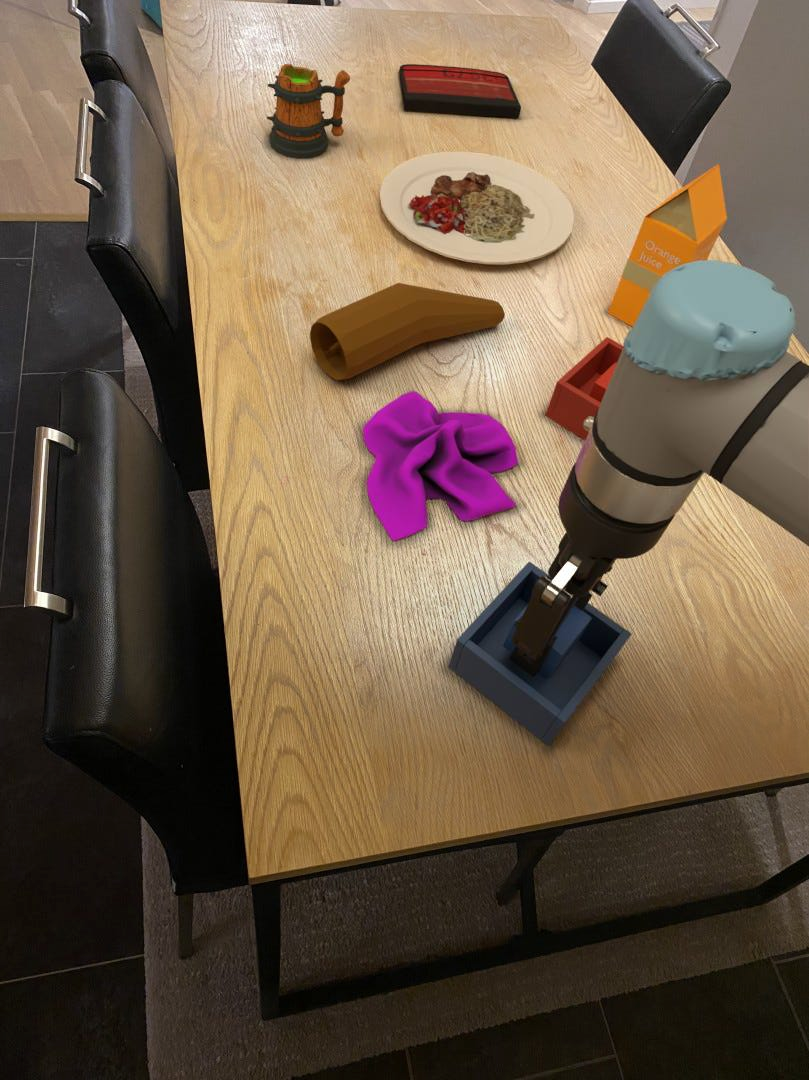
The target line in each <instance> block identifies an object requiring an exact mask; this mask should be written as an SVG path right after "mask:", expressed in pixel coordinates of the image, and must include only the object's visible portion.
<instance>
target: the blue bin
mask: <svg viewBox="0 0 809 1080" xmlns="http://www.w3.org/2000/svg"><path fill="white" fill-rule="evenodd" d="M542 576H544V577H545V576H548V577H550V576H549V574H548V572H545V571H544V570H543V569H541V568H539V566H536V565H535V564H534V563H532V562H531V561H528V562H526V564H525V565H524V566H523V567H522V568H521V570H520V571H519V572H518V573H517V574H516V575H515V576H514V577H513V578H512V579H511V581H510V582H508V584H507V585H506V586H504V588H503V589H502V590H501V591H500V592H499V593H498V594H497V596H496V597H494V599H493V600H492V601H491V602H490V603H489V604H488V606H487V607H485V609H483V610H482V612H481V613H480V614H479V615H478V616H477V617H476V619H474V620H473V621H472V623H471V624H470V625H469V626H468V627H467V628H466V629H465V630H464V631H463V632H462V633H461V634H460V636H459V637H458V638H457V639H456V642H455V645H454V648H453V650H452V654H451V657H450V660H449V663H448V666H447V667H448V668H449V669H450V670H451V671H452V672H453V673H455V674H456V675H457V676H458V677H460V678H461V679H463V680H464V681H465V682H466V683H467V684H468V685H470V686H471V687H473V688H474V689H475V690H476V691H477V692H479V693H480V694H481V695H482V696H484V697H485V698H487V699H488V700H489V701H490V702H492V703H493V704H494V705H495V706H496V707H498V708H499V709H500V710H502V712H504V713H505V714H507V715H508V716H509V717H511V718H512V719H513V720H514V721H516V723H518V724H519V725H521V726H522V727H523V728H524V729H526V731H528V732H529V733H530V734H532V735H533V736H534V737H536V738H537V739H538V740H540V741H541V742H542V743H543V744H544V745H546V746H547V747H549V746H550V745H551V744H552V743H553V741H554V740H555V738H556V737H557V736H558V734H559V733H560V732H561V731H562V729H563V728H564V726H565V725H566V724H567V723H568V721H569V720H570V719H571V717H572V716H573V714H574V713H575V712H576V710H577V709H578V708H579V706H581V704H582V702H583V701H584V700H585V698H586V697H587V696H588V694H589V693H590V692H591V690H592V689H593V688H594V687H595V685H596V684H597V682H599V680H600V678H601V677H602V676H603V674H604V673H605V672H606V670H607V669H608V668H609V666H610V665H611V664H612V662H613V661H614V660H615V658H616V657H617V656H618V654H619V653H620V652H621V650H622V649H623V647H624V646H625V644H626V643H627V642H628V640H629V639H630V638H631V636H632V634H633V633H632V632H630V631H629V630H628V629H626V628H625V627H623V626H622V625H621V624H620V623H618V622H616V621H614V620H613V619H612V618H610V617H609V616H608V615H606V614H605V613H604V612H602V611H600V610H599V609H598V608H596V607H595V606H593V605H592V604H591V603H590V602H588V603H587V605H586V607H585V609H584V610H583V612H585V613H586V614H587V615H589V616H590V617H591V618H592V619H591V621H590V622H589V624H588V625H587V627H586V629H585V630H584V632H583V633H582V635H581V637H580V638H579V640H578V641H577V643H576V644H575V646H574V647H573V648H572V649H571V651H570V652H569V653H568V654H567V656H566V657H565V658H564V659H563V661H562V662H561V663H560V664H559V666H558V667H557V668H556V669H555V671H554V672H553V673H552V674H551V676H550V677H549V678H548V679H545V678H544V677H542V676H541V675H540V674H539V673H537V674H536V675H535V676H534V677H532V676H531V675H530V674H528V673H527V672H526V671H525V670H523V669H522V668H521V667H519V666H518V665H517V664H515V663H514V662H513V661H511V660H510V659H509V658H510V656H511V654H512V653H511V652H510V651H508V650H507V649H506V648H505V647H503V644H504V642H505V640H506V638H507V635H508V633H509V631H510V629H511V627H512V625H513V623H514V620H515V619H516V618H517V617H518V615H519V614H520V613H521V612H522V611H523V610H524V609H525V608H526V606H527V605H528V603H529V601H530V599H531V597H532V592H533V588H534V586H535V582H536V581H537V579H539V578H540V577H542Z"/></svg>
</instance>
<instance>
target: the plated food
mask: <svg viewBox="0 0 809 1080" xmlns="http://www.w3.org/2000/svg"><path fill="white" fill-rule="evenodd" d="M380 185H381V186H380V192H379V201H380V206H381V210H382V211H383V214H384V215H385V217H386V219H387V221H388V222H389V223H390V224H391V225H392V226H393V227H394V228H395V230H397V231H398V232H399V233H400V234H401V235H403V236H404V237H405V238H407V239H408V240H409V241H411V242H412V243H414V244H416V245H418V246H420V247H422V248H424V249H425V250H428V251H431V252H432V253H433V252H434V253H436V254H438V255H441V256H443V257H446V258H450V259H454V260H458V261H462V262H466V263H473V264H475V263H476V264H481V265H482V264H483V265H511V264H512V265H513V264H514V265H515V264H521V263H526V262H531V261H534V260H538V259H542V258H544V257H546V256H547V255H550V254H552V253H554V252H555V251H557V250H559V248H561V247H562V246H563V245H565V243H566V242H567V240H568V239H569V238H570V236H571V235H572V232H573V229H574V224H575V213H574V212H575V211H574V209H573V205H572V204H571V201H570V199H569V198H568V197H567V195H566V194H565V193H564V191H562V189H561V188H560V187H559V186H558V185H557V184H555V183H554V182H553V181H552V180H551V179H549V178H548V177H546V176H545V175H544V174H542V173H540V172H538V171H537V170H535V169H533V168H530V167H528V166H526V165H525V164H522V163H519V162H516V161H515V160H511V159H508V158H505V157H502V156H497V155H493V154H488V153H482V152H474V151H459V150H458V151H456V150H452V151H437V152H431V153H426V154H422V155H418V156H415V157H412V158H410V159H407V160H405V161H403V162H401V163H400V164H398V165H396V166H394V167H393V168H392V169H391V171H390V172H389V173H388V174H386V176H385V177H384V179H383V181H382V183H381V184H380Z"/></svg>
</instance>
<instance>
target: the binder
mask: <svg viewBox="0 0 809 1080" xmlns="http://www.w3.org/2000/svg"><path fill="white" fill-rule="evenodd" d="M398 75H399V77H398V78H399V82H400V90H401V91H400V92H401V98H402V99H401V100H402V107H403V111H407V112H409V111H410V112H418V113H419V112H420V113H433V114H445V115H446V114H447V115H463V116H465V115H466V116H477V117H478V116H479V117H492V118H493V117H494V118H506V119H508V118H509V119H519V118H520V116H521V115H520V114H521V112H522V111H521V110H522V105H521V104H520V101H519V99H518V97H517V94H516V93H515V91H514V88H513V85H512V83H511V80H510V79H509V77H508V75H507V74H505V73H503V72H499V71H494V70H493V71H492V70H487V69H481V68H480V69H479V68H471V67H460V66H449V65H448V66H447V65H446V66H445V65H434V64H418V63H417V64H415V63H407V64H402V65H400V66H399V69H398Z"/></svg>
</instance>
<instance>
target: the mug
mask: <svg viewBox="0 0 809 1080" xmlns="http://www.w3.org/2000/svg"><path fill="white" fill-rule="evenodd" d="M279 70H280V71H279V72H278V75H275V76H274V77H275V78H276V80H275V82H274V83H267V87H268V88H271V89H272V90H274V93H273V96H274V97H276V102H275V107H274V110H275V112H274V113H273V114H272V116H267V117H266V120H268V121H271V122H272V124H273V125H272V127H271V131H270V133H269V135H268V136H269V145H270V147H271V148H272V150H273V151H275V152H276V153H278V154H280V155H282V156H285V157H287V158H291V159H292V158H294V159H297V160H299V159H312V158H317V157H319V156H321V155H323V154H325V153H326V152H327V150H328V148H329V145H330V143H329V142H330V141H329V137H328V134H327V131H326V128H325V127H328V126H331V131H330V132H331V134H332V136H333V137H335V138H336V137H341V136H343V135H344V133H345V130H344V128H343V126H342V125H343V122H344V121H343V117H342V114H343V110H344V95H345V93H346V91H345V90H346V87H345V86H346V85H347V84H348V83H349V82H350V81H351V77H350V74H349V73H348V72H347V71H346V70H343V69H342V70H340V71H338V73H337V74H336V78H335V82H334V85H333V86H332V85H328V84H327V85H326V84H325V85H322V84H321V83H322V82H323V81H324V80H323V78H322V79H319V75H318V71H317V69H310V68H307V67H303V66H294V65H293V64H292V63H284V64H283V65H282V66H281V67H280V69H279ZM324 94H333V95H334V98H333V99H334V101H333V110H332V116H331V118H324V115H323V114H325V111H324V110H322V103H321V101H322V100H323V98H322V96H323V95H324Z"/></svg>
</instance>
